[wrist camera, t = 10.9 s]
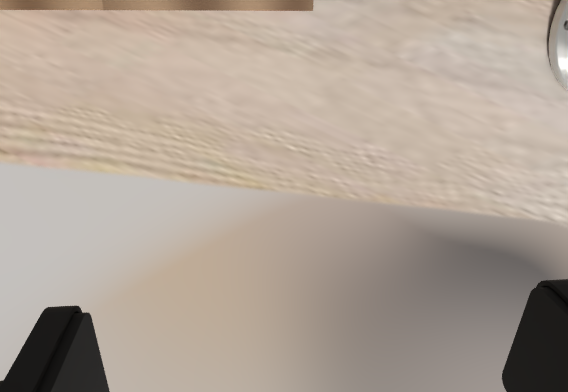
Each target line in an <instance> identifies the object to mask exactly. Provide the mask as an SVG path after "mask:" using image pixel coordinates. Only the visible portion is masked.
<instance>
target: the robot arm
mask: <svg viewBox="0 0 568 392" xmlns="http://www.w3.org/2000/svg"><path fill="white" fill-rule="evenodd" d="M549 59H550V63H551V67H552V70H553V72H554V74H555V76H556V78H557V80H558V82H559V83H560V84H561V85H562V86H563V87H564V88H565V89H566V90H567V91H568V0H561V1H560V4H559V6H558V8H557V10H556V12H555V16H554V19H553V22H552V25H551V30H550V37H549ZM502 380H503V385H504V388H505V389H506V391H507V392H568V279H566V280H546V281H541V282H540V283H538V285H537V287H536V288H534V289H533V290H532V291H531V293H530V295H529V298H528V301H527V304H526V307H525V310H524V313H523V316H522V318H521V321H520V324H519V327H518V330H517V332H516V335H515V338H514V341H513V344H512V347H511V350H510V353H509V355H508V358H507V361H506V364H505V367H504V370H503V373H502ZM0 392H109V388H108V384H107V380H106V375H105V371H104V367H103V363H102V359H101V355H100V351H99V347H98V343H97V338H96V334H95V330H94V326H93V323H92V318H91V315H90V314H89V313H82V311H81V308H80V307H79V306H61V307H48V308H46V309H45V310H44V311H43V312H42V314H41V315H40V317H39V319H38V321H37V323H36V324H35V326H34V328H33V330H32V331H31V333H30V335H29V337H28V338H27V340H26V342H25V344H24V346H23V347H22V349H21V351H20V353H19V354H18V356H17V358H16V360H15V362H14V363H13V365H12V367H11V369H10V370H9V372H8V374H7V376H6V377H5V379H4V380H3V381H0Z"/></svg>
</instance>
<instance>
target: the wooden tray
mask: <svg viewBox="0 0 568 392" xmlns="http://www.w3.org/2000/svg"><path fill="white" fill-rule="evenodd" d="M0 10H253V11H313V0H0Z"/></svg>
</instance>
